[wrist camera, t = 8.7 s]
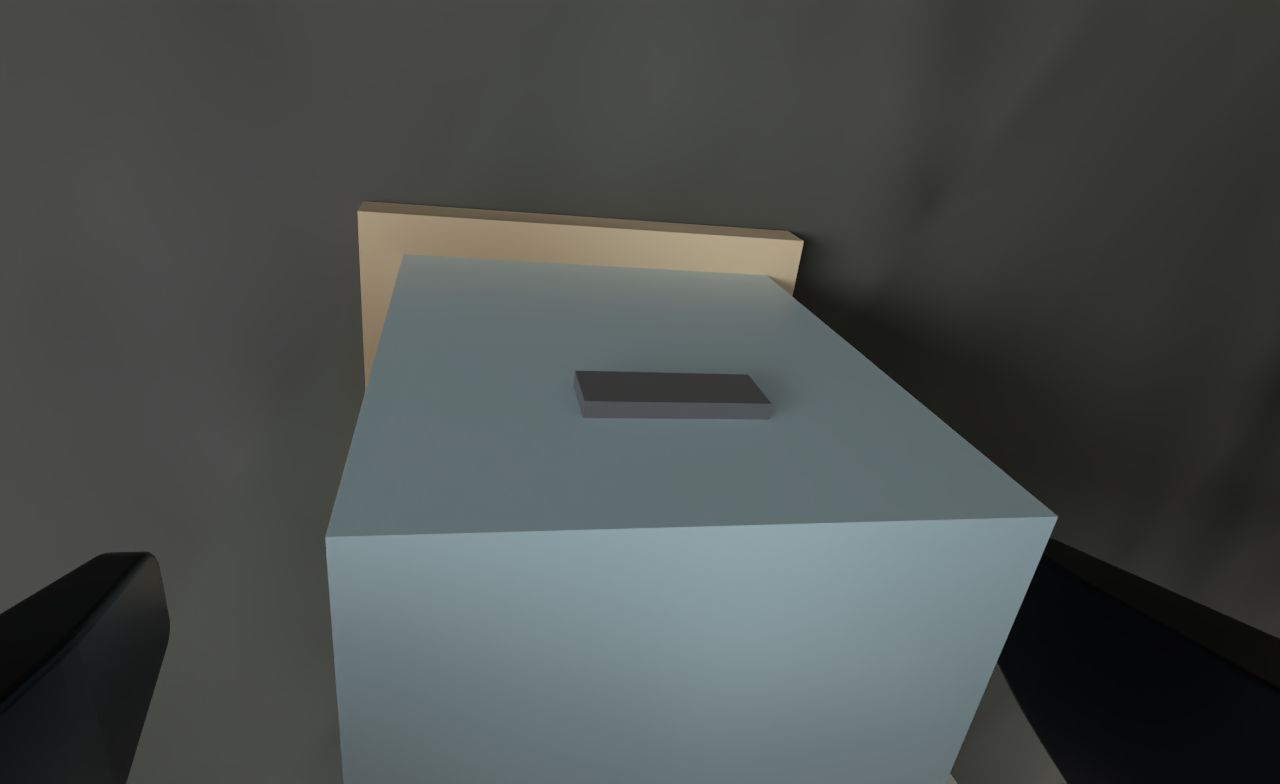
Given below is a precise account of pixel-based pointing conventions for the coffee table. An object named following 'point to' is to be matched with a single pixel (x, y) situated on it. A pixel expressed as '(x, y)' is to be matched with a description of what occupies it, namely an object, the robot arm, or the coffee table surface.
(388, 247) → the board
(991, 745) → the coffee table surface
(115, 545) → the coffee table surface
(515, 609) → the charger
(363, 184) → the coffee table surface
